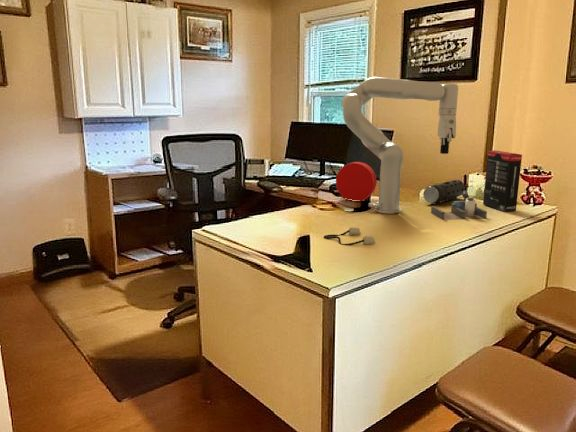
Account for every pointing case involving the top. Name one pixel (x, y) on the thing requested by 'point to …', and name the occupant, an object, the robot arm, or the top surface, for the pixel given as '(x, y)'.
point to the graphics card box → (502, 180)
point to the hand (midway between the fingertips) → (444, 153)
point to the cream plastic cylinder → (470, 207)
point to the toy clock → (356, 181)
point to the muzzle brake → (443, 191)
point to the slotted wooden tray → (458, 212)
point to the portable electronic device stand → (465, 195)
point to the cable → (354, 231)
